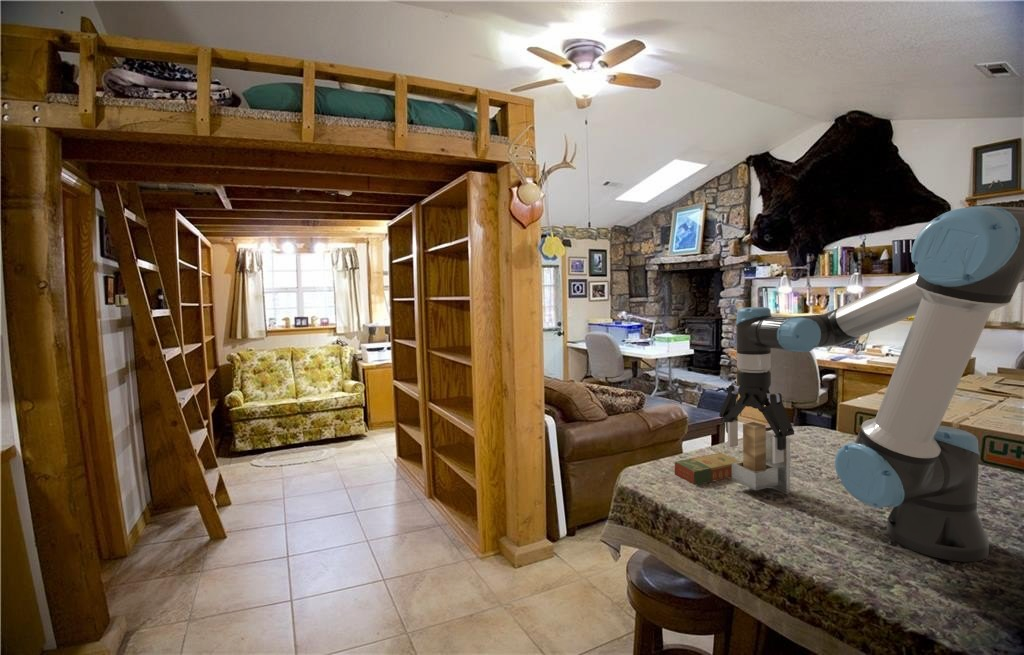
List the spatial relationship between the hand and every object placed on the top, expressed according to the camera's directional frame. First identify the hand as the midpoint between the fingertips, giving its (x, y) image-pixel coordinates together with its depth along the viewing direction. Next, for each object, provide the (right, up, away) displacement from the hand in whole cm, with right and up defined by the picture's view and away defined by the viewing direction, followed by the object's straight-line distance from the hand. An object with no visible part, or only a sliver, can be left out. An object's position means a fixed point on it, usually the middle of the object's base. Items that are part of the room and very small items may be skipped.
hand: (754, 453), depth 122 cm
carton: (-7, -10, +12) cm, 17 cm away
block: (0, -7, 0) cm, 7 cm away
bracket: (+2, -9, +1) cm, 10 cm away
